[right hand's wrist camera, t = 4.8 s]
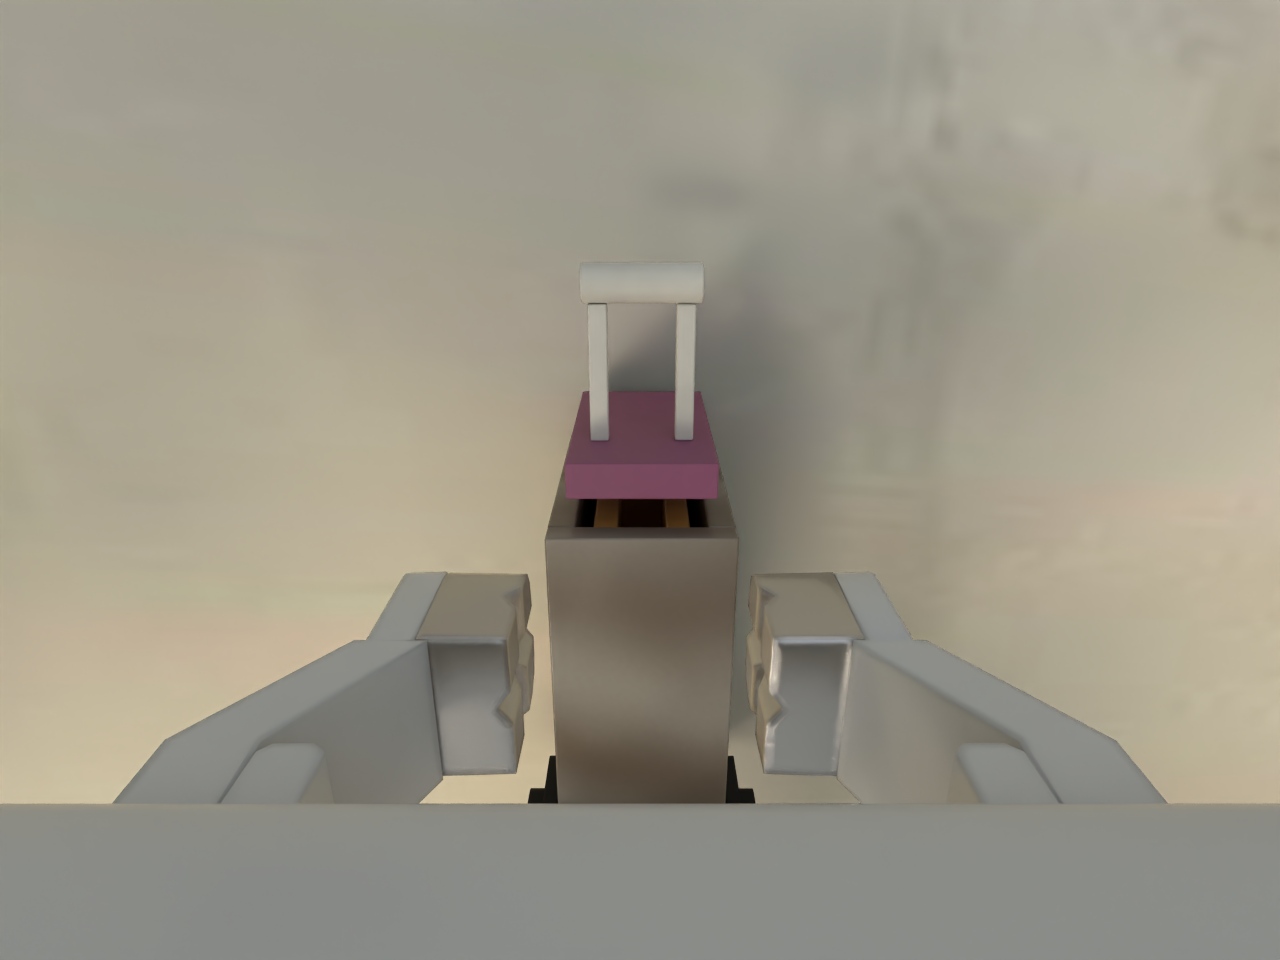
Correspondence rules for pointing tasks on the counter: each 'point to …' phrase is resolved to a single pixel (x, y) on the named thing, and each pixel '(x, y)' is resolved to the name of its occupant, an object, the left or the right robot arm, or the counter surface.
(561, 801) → the cabinet
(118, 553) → the counter surface
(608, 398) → the drawer
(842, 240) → the counter surface
